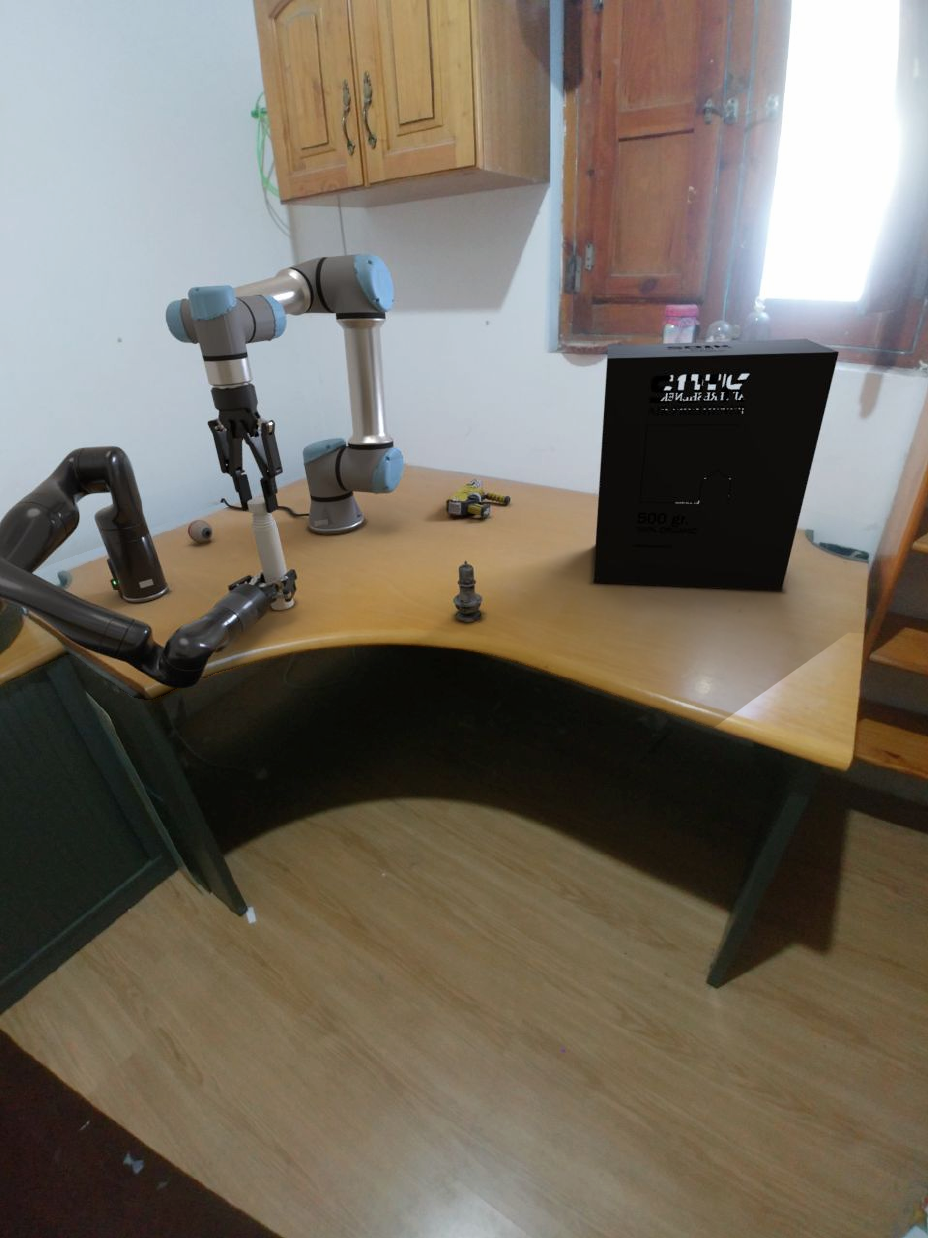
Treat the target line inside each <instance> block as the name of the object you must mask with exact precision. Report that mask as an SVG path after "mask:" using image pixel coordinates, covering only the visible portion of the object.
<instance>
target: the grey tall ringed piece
mask: <svg viewBox="0 0 928 1238" xmlns="http://www.w3.org/2000/svg"><path fill="white" fill-rule="evenodd" d="M463 563H464V564H461V565H460V566H459V567H458V581H457V585H458V588H459V589H458V590H459V593H458V594H457V595H455V596H454V597H453V599H452V602H453V604H454V606H455V608H456V610H457V611H456V612H455V615H454V616H455V618H456V619H457V620H458V621H461V622H466V623H467V622H475V621H478V620H479V619H481V618H482V615H483V614H482V611H481V610H480V607H481V605H482V602H483V600H484V599H483V598H484V597H482V595H481V594H479V593H477V592H476V583H477V580H476V579H475V572H474V570H475V569H474V567H473V566H472V564H469V563H468V561H467V560H464V561H463Z"/></svg>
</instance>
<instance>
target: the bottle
mask: <svg viewBox="0 0 928 1238" xmlns="http://www.w3.org/2000/svg"><path fill="white" fill-rule="evenodd" d="M251 520H252V524H251V526H252V532H253V533H252V534H253V536H254V541H255V544H256V549H257V553H258V557H259V562H260V566H261V571H262V572H263V574H264V578H265V582H266V583H267V582H269V581H271V580H273V579H280V578H282V577H283V576H284V575H285V574H286V573H287V572H288V570H287V564H286V560H285V555H284V552H283V547H282V546H283V545H282V543H281V537H280V533H279V529H278V524H277V521H276V519H275V518H274V516H273V514H272V513H267V512H264V513H252V519H251ZM274 586H275V585H274ZM281 586H282V587H283V586H284V585H283V583H281ZM294 604H295V601H294V597H293V598H292V600H291V601H290V602H285V599H277V601H275V602H273V603H271V604H270V606H271V607H270V608H271V609H273V610H275V611H284V610H288V609H289V608H291V607H292V606H293V607H294Z"/></svg>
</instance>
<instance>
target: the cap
mask: <svg viewBox="0 0 928 1238" xmlns="http://www.w3.org/2000/svg"><path fill="white" fill-rule="evenodd" d="M247 503H248V509H249V510H248V512H249V513H251V514H253V513H264V512H267V510H266V505H265V501H264V496H260V497H253V499H251V500H249V501H248V502H247Z"/></svg>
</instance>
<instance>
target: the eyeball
mask: <svg viewBox="0 0 928 1238" xmlns="http://www.w3.org/2000/svg"><path fill="white" fill-rule="evenodd" d="M187 534H188V537H189V538H190V539H191V540H192V541H193V542H196V543H198V544H199V543H201V544H202V543H207V542H208V541H209V540H211V538H212V536H213V527H212V526H211V524H210V523H209V522H207V521H205V520H201V519H197V520H193V521H192V522H191V523H190V524H189V525H188V527H187Z"/></svg>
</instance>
